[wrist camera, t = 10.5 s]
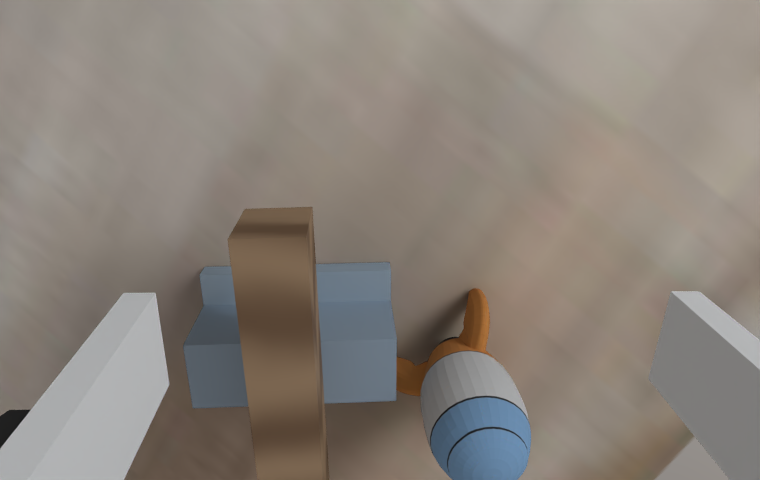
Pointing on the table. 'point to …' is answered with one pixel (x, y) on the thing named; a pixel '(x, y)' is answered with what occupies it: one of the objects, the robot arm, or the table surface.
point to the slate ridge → (337, 333)
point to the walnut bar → (281, 341)
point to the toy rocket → (470, 403)
